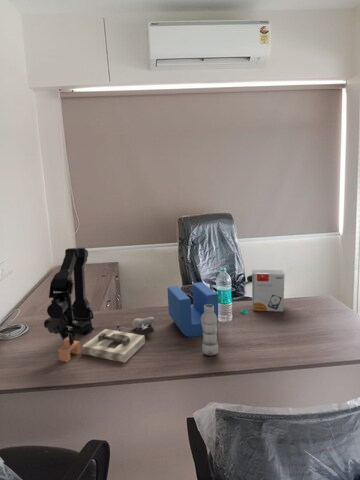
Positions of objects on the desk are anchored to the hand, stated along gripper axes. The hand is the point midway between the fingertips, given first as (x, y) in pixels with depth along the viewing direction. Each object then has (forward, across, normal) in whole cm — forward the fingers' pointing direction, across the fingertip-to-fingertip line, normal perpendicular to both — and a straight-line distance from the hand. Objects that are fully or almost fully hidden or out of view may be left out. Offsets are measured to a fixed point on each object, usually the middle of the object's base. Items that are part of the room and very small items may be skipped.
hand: (69, 344), depth 135 cm
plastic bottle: (+5, +53, +20) cm, 57 cm away
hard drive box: (+6, +67, +72) cm, 98 cm away
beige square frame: (+5, +14, +11) cm, 19 cm away
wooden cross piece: (+5, 0, 0) cm, 5 cm away
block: (+6, +38, +40) cm, 55 cm away
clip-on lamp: (+6, +15, +27) cm, 31 cm away
